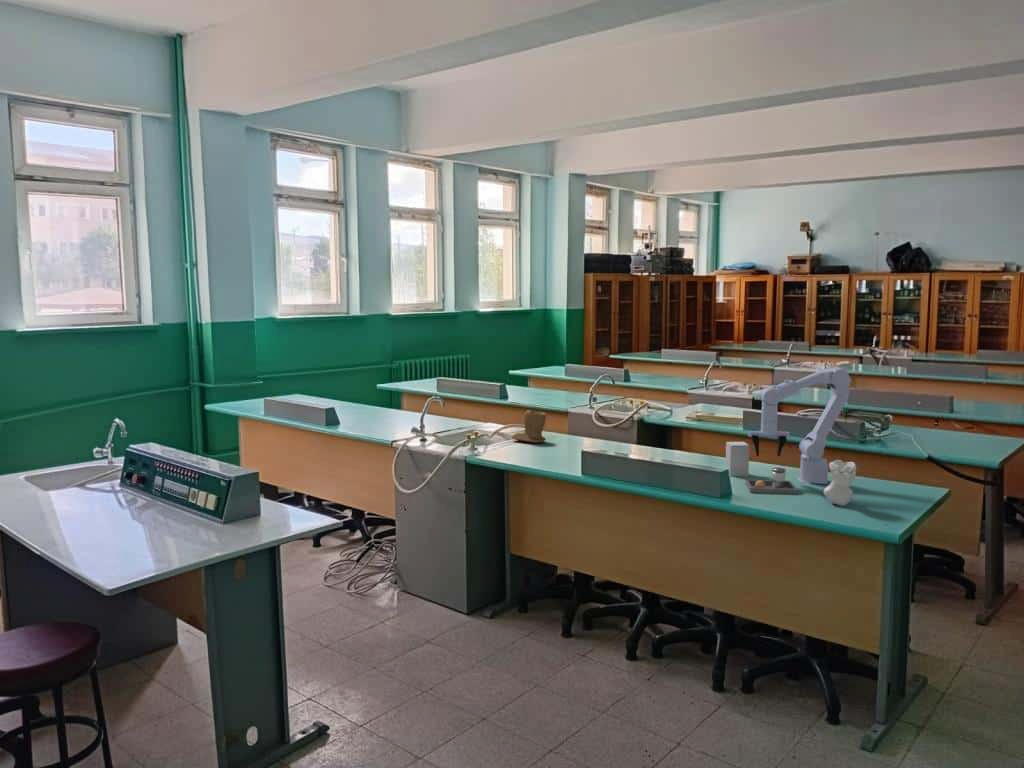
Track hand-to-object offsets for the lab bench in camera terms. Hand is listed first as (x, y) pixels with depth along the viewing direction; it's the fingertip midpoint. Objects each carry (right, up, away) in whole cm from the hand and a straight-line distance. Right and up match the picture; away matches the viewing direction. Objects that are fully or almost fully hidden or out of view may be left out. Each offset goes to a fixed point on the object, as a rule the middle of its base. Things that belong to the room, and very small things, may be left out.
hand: (767, 455), depth 297 cm
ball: (-7, -11, -13) cm, 18 cm away
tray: (-3, -12, -11) cm, 16 cm away
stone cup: (-87, -1, +79) cm, 118 cm away
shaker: (0, -11, -10) cm, 15 cm away
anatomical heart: (+14, -14, -31) cm, 37 cm away
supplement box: (-9, -9, +12) cm, 17 cm away
